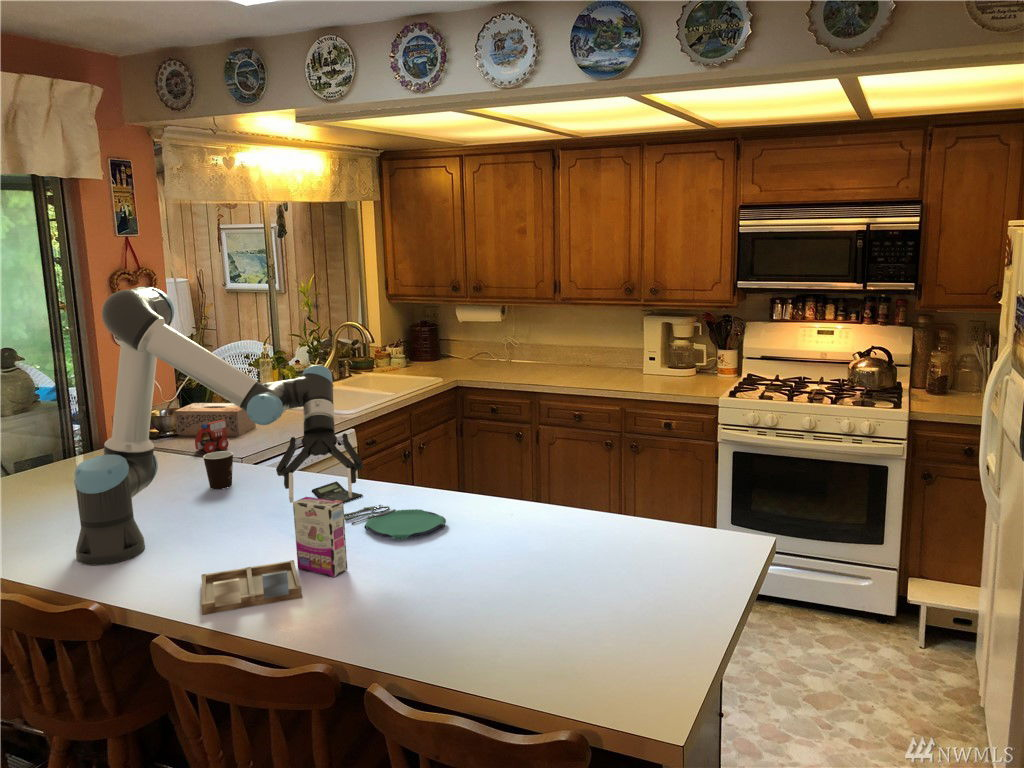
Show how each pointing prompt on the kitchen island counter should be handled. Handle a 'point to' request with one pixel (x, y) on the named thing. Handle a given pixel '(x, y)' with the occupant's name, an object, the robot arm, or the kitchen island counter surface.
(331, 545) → the candy bar box
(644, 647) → the kitchen island counter surface
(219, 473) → the coffee mug
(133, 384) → the robot arm
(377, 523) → the cutlery set
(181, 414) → the tissue box cover
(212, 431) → the toy fire truck
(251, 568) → the divided tray
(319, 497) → the calculator
